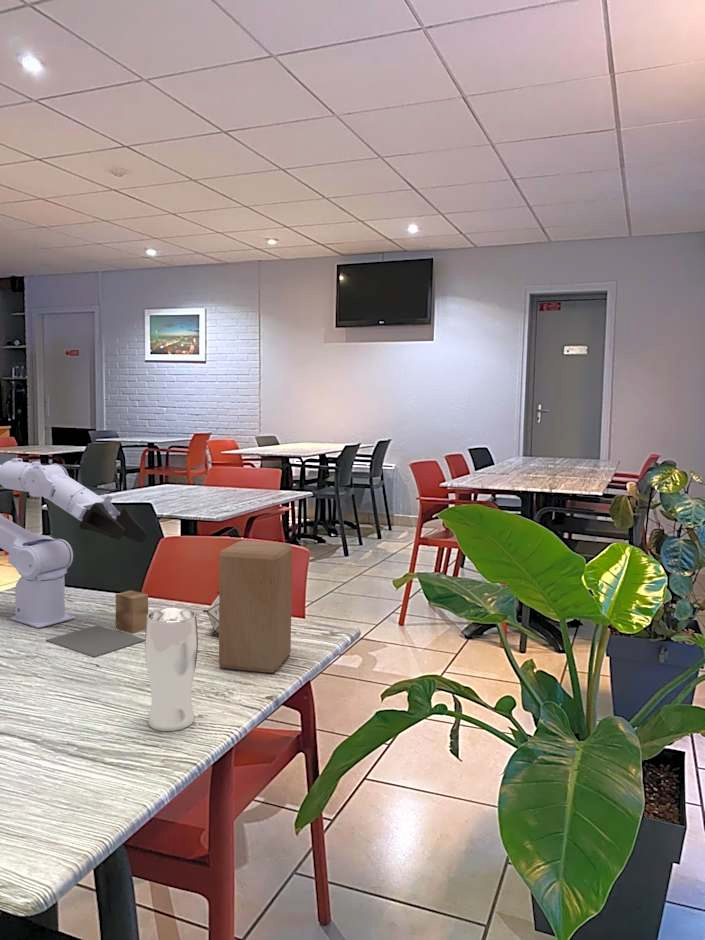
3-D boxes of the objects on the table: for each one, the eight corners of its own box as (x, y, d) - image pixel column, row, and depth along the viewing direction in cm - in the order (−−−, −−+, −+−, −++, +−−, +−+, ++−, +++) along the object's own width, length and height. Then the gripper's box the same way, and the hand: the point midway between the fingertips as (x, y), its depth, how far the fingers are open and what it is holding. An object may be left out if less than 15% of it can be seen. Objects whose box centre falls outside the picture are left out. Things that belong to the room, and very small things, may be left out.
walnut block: (115, 629, 134) (115, 594, 134) (130, 625, 137) (130, 590, 136) (132, 635, 131) (132, 598, 131) (148, 630, 134) (148, 594, 134)
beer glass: (176, 706, 101) (177, 604, 99) (208, 720, 96) (208, 614, 95) (134, 722, 95) (134, 614, 94) (165, 738, 91) (165, 625, 90)
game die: (228, 656, 132) (219, 625, 125) (200, 631, 136) (190, 600, 130) (264, 626, 136) (256, 594, 130) (236, 603, 141) (227, 571, 134)
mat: (45, 640, 127) (45, 639, 127) (97, 626, 136) (97, 625, 136) (94, 657, 119) (94, 656, 119) (145, 640, 128) (145, 639, 128)
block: (274, 675, 113) (276, 553, 111) (216, 669, 115) (217, 549, 113) (292, 654, 123) (294, 542, 121) (238, 649, 125) (239, 538, 123)
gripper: (66, 477, 127) (122, 513, 123) (112, 489, 140) (163, 521, 136) (47, 511, 126) (102, 548, 122) (94, 520, 140) (145, 553, 136)
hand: (133, 536), depth 129 cm, fingers open, 7 cm apart
